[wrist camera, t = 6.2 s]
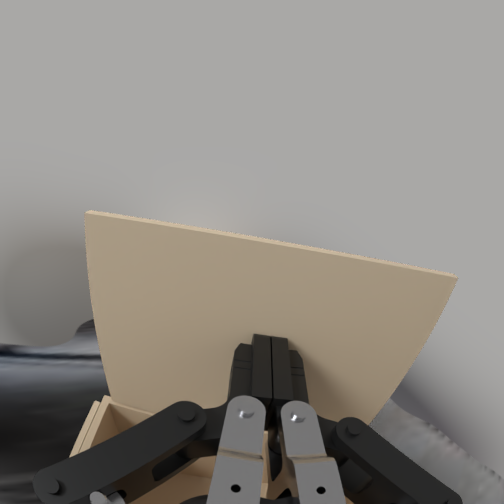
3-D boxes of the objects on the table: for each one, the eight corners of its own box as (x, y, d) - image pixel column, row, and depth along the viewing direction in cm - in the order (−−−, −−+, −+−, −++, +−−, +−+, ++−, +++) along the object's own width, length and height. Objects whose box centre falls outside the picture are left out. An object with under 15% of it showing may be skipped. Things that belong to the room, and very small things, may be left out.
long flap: (112, 401, 15) (84, 212, 10) (114, 396, 15) (89, 209, 10) (363, 431, 16) (458, 278, 11) (361, 426, 16) (453, 273, 11)
